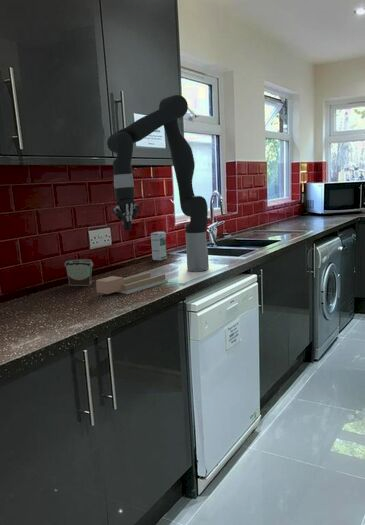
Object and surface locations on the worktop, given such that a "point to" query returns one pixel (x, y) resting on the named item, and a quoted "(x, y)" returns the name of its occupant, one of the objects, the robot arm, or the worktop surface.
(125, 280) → the chute
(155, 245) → the white pill bottle
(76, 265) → the food container
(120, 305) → the worktop surface
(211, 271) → the worktop surface
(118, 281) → the block
